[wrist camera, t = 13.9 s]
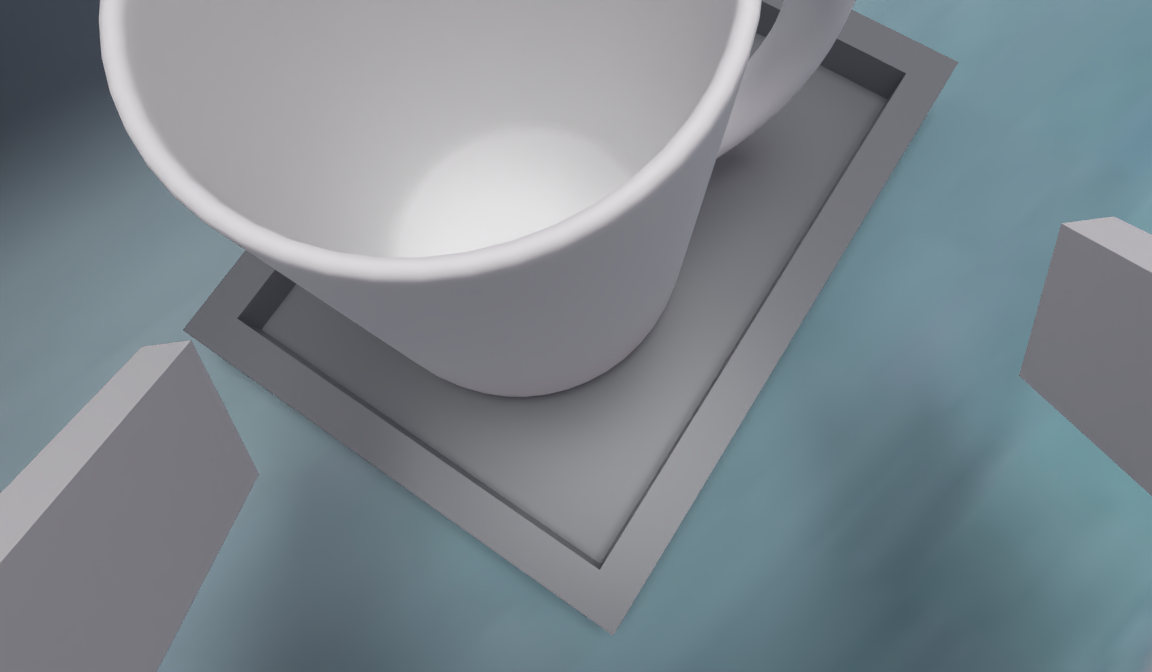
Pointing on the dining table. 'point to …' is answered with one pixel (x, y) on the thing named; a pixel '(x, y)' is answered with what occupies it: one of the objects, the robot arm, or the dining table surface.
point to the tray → (640, 381)
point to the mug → (461, 155)
